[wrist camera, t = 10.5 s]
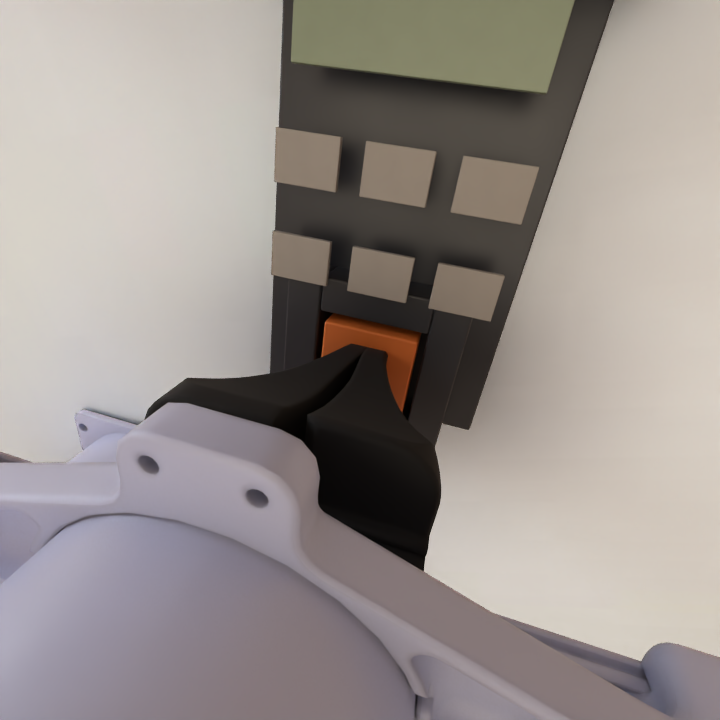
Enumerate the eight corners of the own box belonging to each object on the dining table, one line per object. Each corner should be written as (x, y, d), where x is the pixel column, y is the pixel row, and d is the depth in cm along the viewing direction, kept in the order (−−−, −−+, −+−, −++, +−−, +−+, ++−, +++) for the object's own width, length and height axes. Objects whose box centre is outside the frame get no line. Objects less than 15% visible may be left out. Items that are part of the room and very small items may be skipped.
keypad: (490, 319, 12) (490, 321, 12) (273, 273, 13) (271, 274, 13) (604, -42, 8) (607, -46, 8) (285, -64, 9) (281, -68, 9)
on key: (405, 400, 15) (399, 422, 14) (329, 380, 16) (316, 400, 15) (423, 325, 14) (418, 342, 13) (337, 306, 14) (324, 321, 13)
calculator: (464, 430, 17) (464, 469, 14) (277, 381, 18) (251, 411, 16) (635, -86, 9) (686, -163, 7) (300, -103, 11) (257, -174, 8)
